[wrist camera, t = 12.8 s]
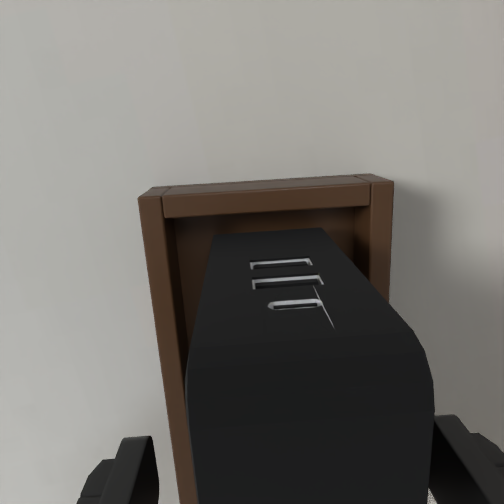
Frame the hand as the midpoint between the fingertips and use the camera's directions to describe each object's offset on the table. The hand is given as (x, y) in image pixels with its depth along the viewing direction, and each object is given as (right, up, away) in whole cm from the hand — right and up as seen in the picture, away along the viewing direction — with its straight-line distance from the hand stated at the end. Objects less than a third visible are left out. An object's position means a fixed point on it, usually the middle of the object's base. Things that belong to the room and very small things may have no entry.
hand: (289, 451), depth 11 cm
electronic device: (0, +2, +6) cm, 6 cm away
